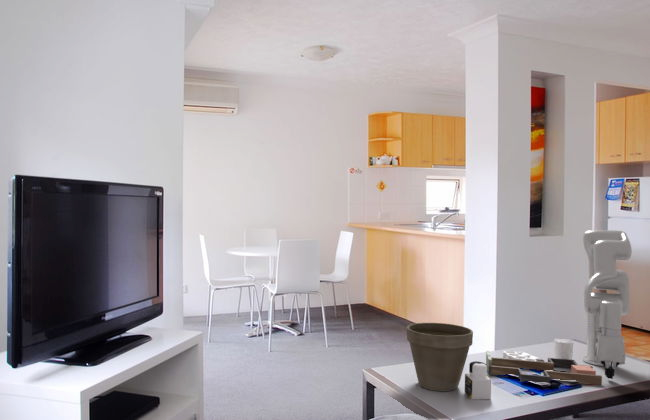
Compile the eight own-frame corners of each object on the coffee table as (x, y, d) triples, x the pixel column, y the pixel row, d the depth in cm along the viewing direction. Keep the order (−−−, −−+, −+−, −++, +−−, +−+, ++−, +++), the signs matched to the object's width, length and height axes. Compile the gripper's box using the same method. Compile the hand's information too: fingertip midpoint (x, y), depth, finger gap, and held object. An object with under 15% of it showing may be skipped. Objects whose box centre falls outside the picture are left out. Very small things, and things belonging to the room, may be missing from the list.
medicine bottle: (464, 392, 187) (465, 359, 187) (483, 392, 187) (483, 359, 187) (471, 399, 180) (472, 365, 180) (491, 399, 180) (491, 365, 180)
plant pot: (415, 371, 211) (416, 318, 211) (477, 381, 200) (478, 325, 201) (396, 389, 189) (398, 330, 189) (464, 401, 178) (466, 339, 178)
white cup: (575, 366, 225) (575, 343, 225) (555, 364, 226) (556, 342, 226) (570, 361, 232) (570, 339, 233) (551, 359, 234) (552, 337, 234)
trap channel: (484, 360, 230) (485, 346, 231) (586, 369, 221) (587, 355, 221) (489, 380, 202) (490, 365, 202) (607, 391, 192) (607, 375, 192)
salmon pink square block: (571, 375, 211) (571, 364, 211) (589, 377, 210) (589, 366, 210) (576, 381, 204) (577, 369, 204) (595, 382, 203) (595, 371, 203)
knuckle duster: (550, 367, 223) (522, 370, 218) (521, 356, 240) (495, 358, 235) (550, 359, 223) (523, 362, 218) (521, 349, 240) (495, 351, 235)
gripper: (592, 332, 203) (591, 378, 203) (634, 335, 200) (633, 382, 200) (587, 328, 211) (586, 373, 210) (627, 331, 207) (626, 376, 207)
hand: (609, 377), depth 205 cm, fingers closed
